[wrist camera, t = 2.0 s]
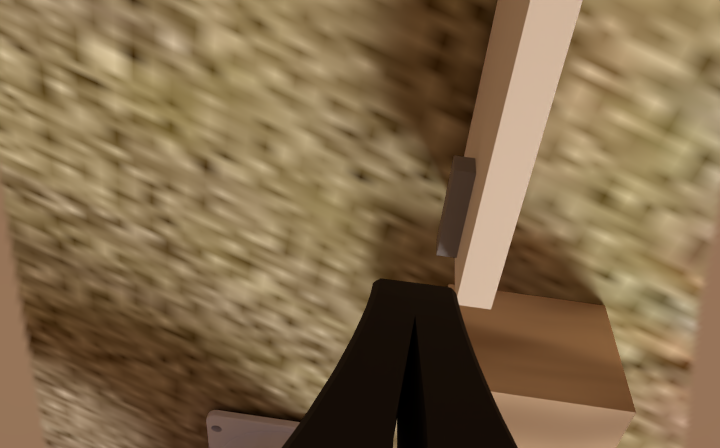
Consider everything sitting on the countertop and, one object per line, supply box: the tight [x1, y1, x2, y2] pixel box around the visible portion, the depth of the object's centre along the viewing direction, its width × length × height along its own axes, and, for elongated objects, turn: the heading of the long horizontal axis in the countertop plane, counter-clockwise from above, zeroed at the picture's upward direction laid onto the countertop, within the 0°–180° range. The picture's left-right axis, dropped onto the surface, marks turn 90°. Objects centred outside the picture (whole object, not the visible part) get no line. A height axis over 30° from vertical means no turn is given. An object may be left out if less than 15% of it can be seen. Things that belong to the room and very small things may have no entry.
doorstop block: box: [448, 284, 636, 448], centre depth 23 cm, size 4×6×5 cm, turn 85°
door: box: [437, 0, 582, 309], centre depth 16 cm, size 11×2×5 cm, turn 175°
